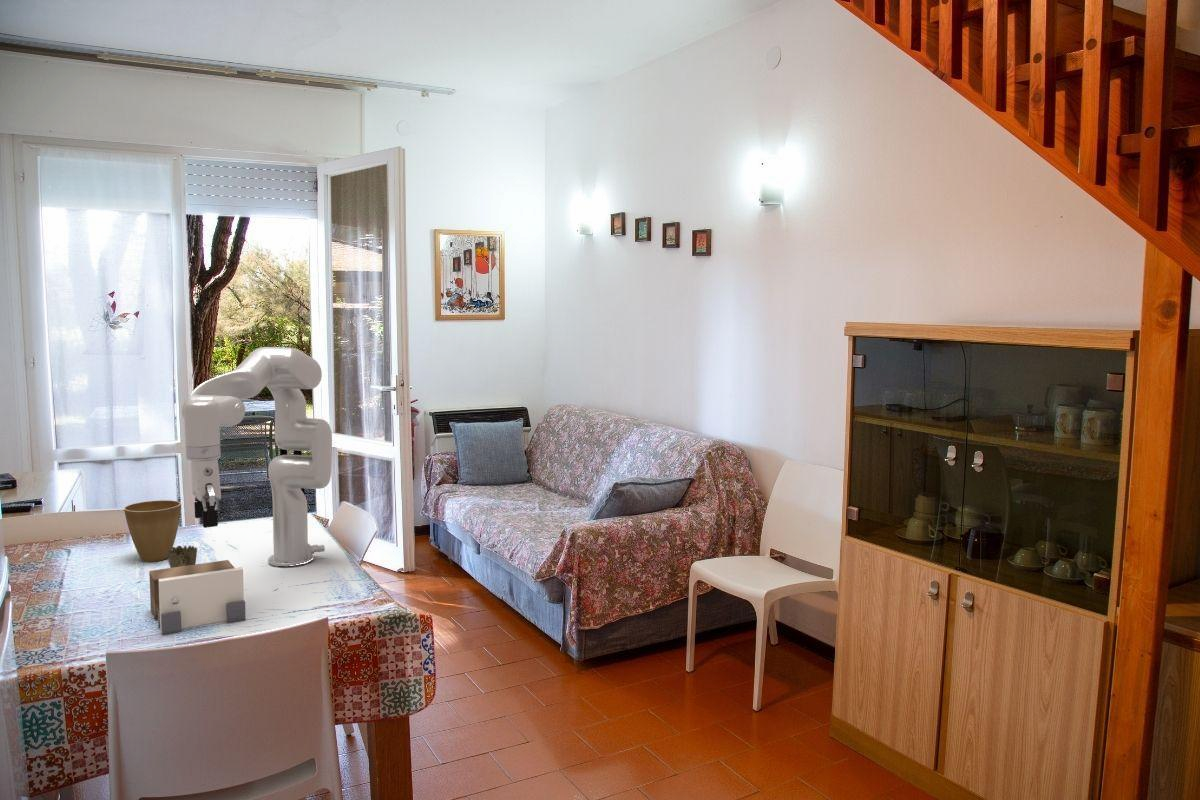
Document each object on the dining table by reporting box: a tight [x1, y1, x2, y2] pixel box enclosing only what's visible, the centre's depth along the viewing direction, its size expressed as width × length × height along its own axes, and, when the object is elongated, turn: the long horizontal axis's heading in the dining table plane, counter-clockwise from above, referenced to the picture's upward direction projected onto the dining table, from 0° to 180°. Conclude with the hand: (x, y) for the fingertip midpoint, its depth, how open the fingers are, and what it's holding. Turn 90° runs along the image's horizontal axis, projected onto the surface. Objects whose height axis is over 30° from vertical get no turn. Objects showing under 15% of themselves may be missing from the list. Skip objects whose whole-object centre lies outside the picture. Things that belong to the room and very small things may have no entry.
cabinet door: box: [159, 567, 245, 631], centre depth 203 cm, size 18×3×12 cm, turn 125°
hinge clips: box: [157, 599, 247, 636], centre depth 203 cm, size 18×6×4 cm, turn 125°
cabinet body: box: [148, 559, 235, 621], centre depth 212 cm, size 18×8×10 cm, turn 125°
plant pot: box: [123, 499, 182, 563], centre depth 253 cm, size 15×15×16 cm
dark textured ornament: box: [167, 545, 198, 568], centre depth 237 cm, size 8×7×8 cm
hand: (206, 521), depth 207 cm, fingers open, 9 cm apart
